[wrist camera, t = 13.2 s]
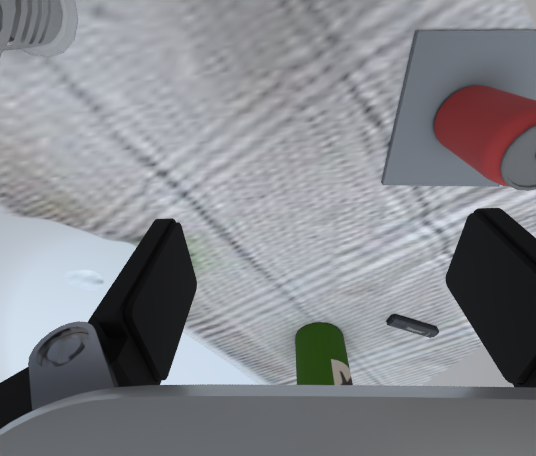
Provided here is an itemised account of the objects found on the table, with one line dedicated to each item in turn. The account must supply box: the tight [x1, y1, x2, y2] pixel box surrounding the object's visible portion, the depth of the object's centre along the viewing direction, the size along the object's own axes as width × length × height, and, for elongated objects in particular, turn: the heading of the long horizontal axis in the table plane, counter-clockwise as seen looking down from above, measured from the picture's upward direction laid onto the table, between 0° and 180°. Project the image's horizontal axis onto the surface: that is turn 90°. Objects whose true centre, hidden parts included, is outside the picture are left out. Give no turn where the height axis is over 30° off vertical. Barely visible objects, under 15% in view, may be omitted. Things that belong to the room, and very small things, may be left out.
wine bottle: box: [295, 323, 353, 385], centre depth 42 cm, size 9×9×32 cm
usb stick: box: [386, 314, 439, 338], centre depth 52 cm, size 10×3×2 cm, turn 69°
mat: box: [381, 30, 536, 186], centre depth 33 cm, size 16×14×1 cm
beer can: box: [434, 85, 536, 191], centre depth 27 cm, size 7×7×12 cm
